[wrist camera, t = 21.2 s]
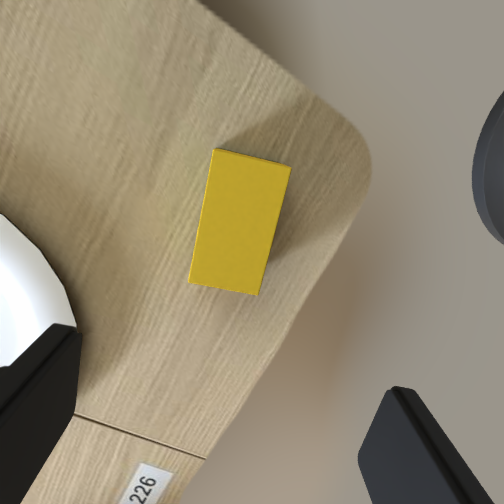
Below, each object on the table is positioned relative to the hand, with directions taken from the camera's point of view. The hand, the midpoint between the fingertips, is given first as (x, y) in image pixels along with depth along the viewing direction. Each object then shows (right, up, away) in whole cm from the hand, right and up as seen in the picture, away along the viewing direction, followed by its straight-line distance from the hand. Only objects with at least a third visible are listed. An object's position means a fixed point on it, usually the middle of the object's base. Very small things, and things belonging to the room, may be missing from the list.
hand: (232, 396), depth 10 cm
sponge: (-1, +7, +16) cm, 18 cm away
